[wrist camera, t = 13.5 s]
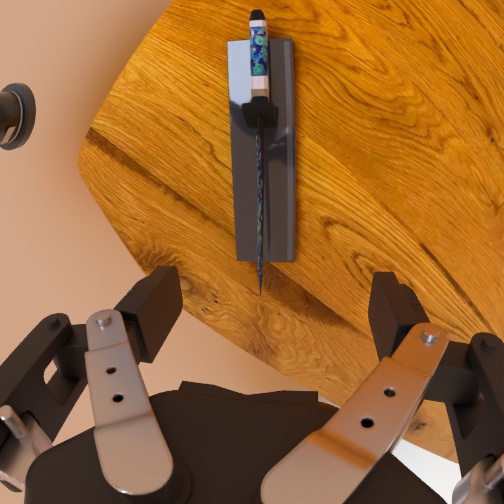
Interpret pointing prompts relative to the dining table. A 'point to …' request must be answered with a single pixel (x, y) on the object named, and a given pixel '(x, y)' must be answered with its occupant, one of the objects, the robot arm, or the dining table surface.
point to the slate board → (275, 155)
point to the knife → (259, 110)
